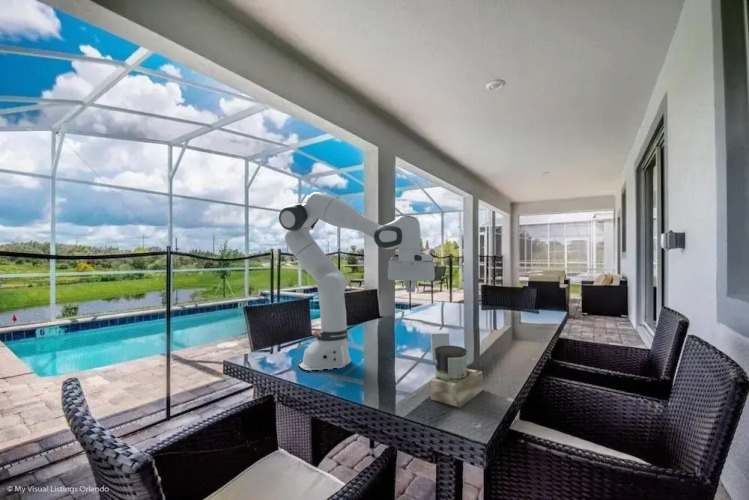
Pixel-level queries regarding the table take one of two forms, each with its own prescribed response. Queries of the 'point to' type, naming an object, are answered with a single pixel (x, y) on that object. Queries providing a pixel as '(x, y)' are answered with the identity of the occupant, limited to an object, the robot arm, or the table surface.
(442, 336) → the supplement box
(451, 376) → the coffee can
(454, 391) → the wooden dock
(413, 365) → the table surface
